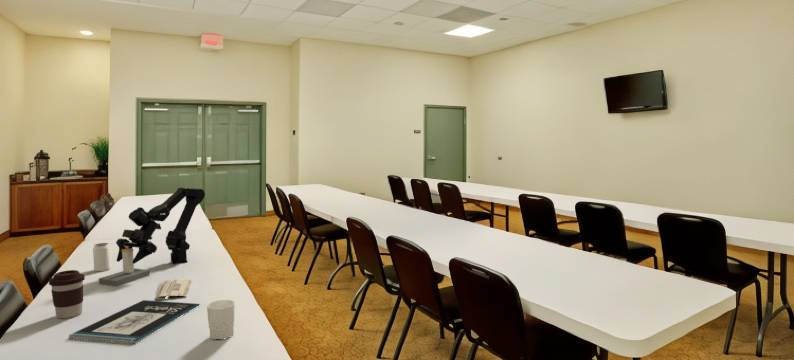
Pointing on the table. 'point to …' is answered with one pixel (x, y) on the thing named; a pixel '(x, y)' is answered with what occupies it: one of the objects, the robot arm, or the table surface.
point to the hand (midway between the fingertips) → (125, 262)
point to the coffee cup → (67, 293)
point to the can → (101, 257)
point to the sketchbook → (134, 322)
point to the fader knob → (127, 260)
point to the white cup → (221, 319)
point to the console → (123, 277)
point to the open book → (173, 288)
